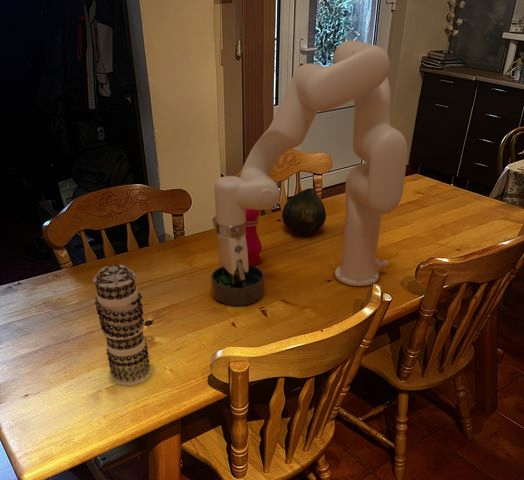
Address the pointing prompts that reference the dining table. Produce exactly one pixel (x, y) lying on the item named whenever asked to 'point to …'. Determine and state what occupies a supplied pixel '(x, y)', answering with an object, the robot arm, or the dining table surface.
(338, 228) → the dining table surface
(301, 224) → the squash
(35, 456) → the dining table surface
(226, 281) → the sponge
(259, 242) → the pepper mill
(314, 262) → the dining table surface
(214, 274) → the bowl
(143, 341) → the decorative candle
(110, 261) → the dining table surface
